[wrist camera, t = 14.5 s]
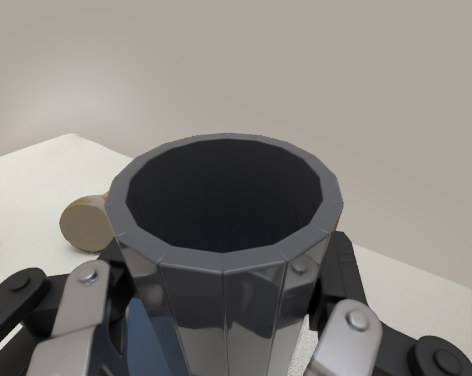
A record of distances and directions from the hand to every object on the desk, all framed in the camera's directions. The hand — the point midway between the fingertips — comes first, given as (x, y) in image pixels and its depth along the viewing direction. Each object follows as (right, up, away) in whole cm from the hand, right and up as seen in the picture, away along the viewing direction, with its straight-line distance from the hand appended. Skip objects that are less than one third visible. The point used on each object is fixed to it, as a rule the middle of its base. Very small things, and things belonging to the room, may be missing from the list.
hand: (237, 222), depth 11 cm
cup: (0, -6, +2) cm, 6 cm away
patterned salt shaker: (-19, -4, +25) cm, 32 cm away
